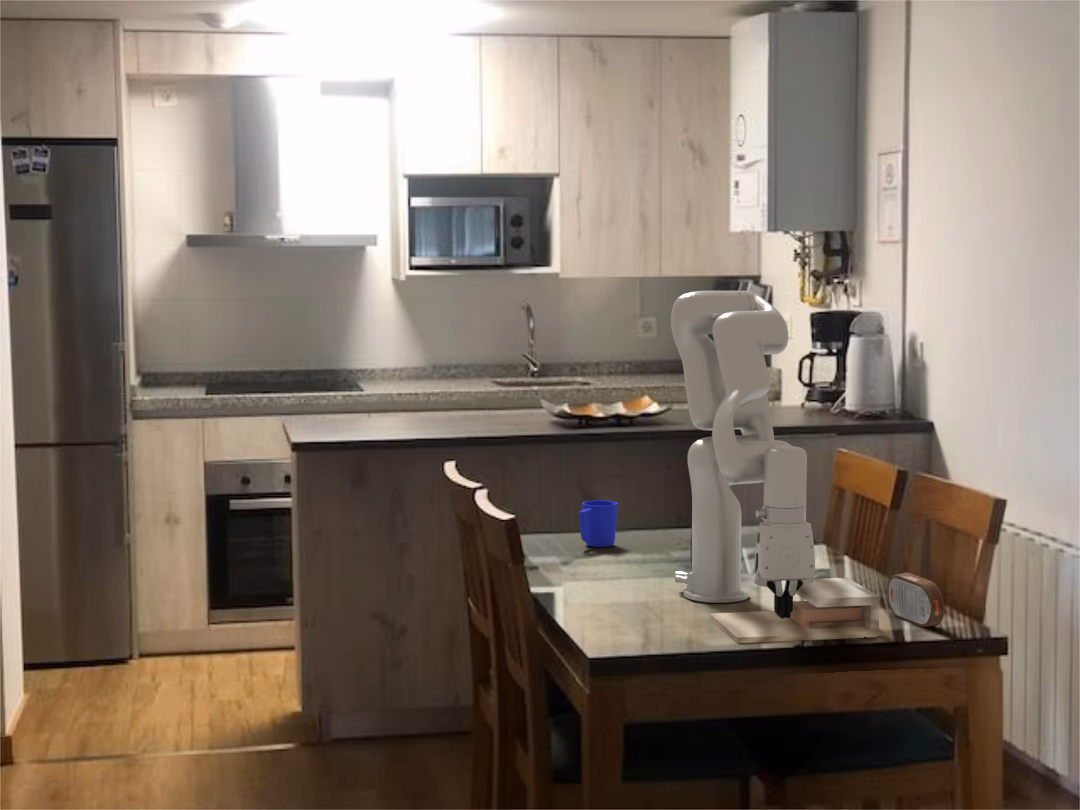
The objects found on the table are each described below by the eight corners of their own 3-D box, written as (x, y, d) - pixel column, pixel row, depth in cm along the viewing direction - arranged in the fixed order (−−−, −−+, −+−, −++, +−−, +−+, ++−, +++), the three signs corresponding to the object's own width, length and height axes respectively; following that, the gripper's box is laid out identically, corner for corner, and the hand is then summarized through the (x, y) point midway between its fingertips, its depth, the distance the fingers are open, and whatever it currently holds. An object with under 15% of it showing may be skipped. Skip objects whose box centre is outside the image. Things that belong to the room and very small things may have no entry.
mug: (566, 549, 346) (566, 506, 345) (594, 541, 355) (594, 499, 355) (596, 553, 341) (596, 509, 340) (624, 544, 351) (624, 502, 350)
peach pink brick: (847, 615, 276) (847, 599, 276) (861, 624, 269) (861, 607, 269) (789, 617, 275) (789, 601, 274) (802, 626, 268) (802, 610, 267)
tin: (945, 630, 269) (946, 584, 268) (930, 632, 268) (931, 585, 267) (898, 612, 283) (899, 568, 282) (883, 613, 282) (884, 569, 281)
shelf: (737, 643, 260) (738, 603, 260) (709, 618, 278) (709, 581, 277) (883, 636, 265) (884, 597, 264) (846, 613, 282) (847, 576, 282)
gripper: (750, 520, 264) (749, 623, 266) (832, 517, 267) (830, 619, 268) (737, 513, 271) (736, 613, 273) (817, 510, 274) (815, 610, 276)
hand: (783, 616), depth 271 cm, fingers closed
